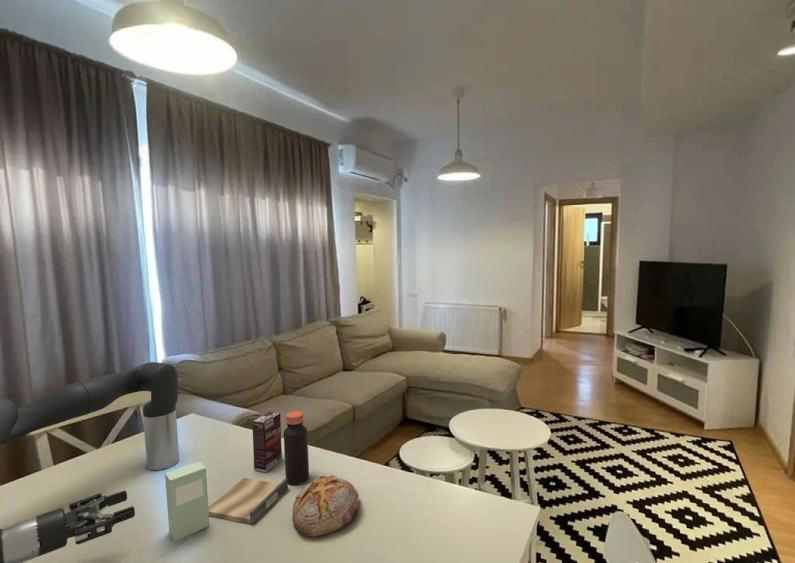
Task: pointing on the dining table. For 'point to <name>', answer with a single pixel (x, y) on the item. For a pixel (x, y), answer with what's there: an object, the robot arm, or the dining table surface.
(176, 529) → the carton
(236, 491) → the tan flat piece
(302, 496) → the bread
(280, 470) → the dining table surface
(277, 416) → the supplement box
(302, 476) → the bottle
